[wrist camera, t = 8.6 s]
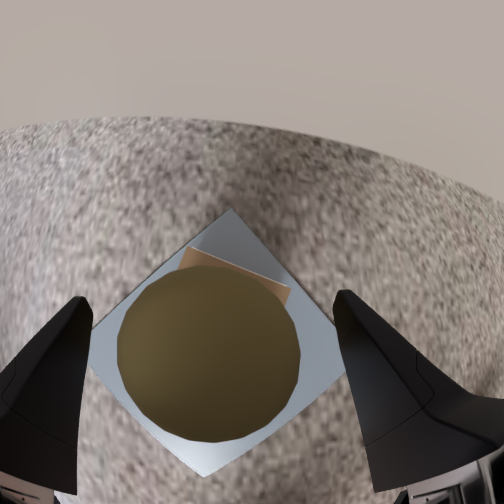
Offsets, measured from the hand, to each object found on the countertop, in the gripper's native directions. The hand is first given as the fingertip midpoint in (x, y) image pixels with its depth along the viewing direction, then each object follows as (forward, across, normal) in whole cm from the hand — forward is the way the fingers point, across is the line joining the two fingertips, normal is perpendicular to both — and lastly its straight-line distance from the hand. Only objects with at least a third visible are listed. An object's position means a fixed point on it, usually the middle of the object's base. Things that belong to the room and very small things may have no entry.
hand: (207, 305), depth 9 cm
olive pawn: (+5, 0, +7) cm, 8 cm away
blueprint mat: (+5, +1, +12) cm, 13 cm away
